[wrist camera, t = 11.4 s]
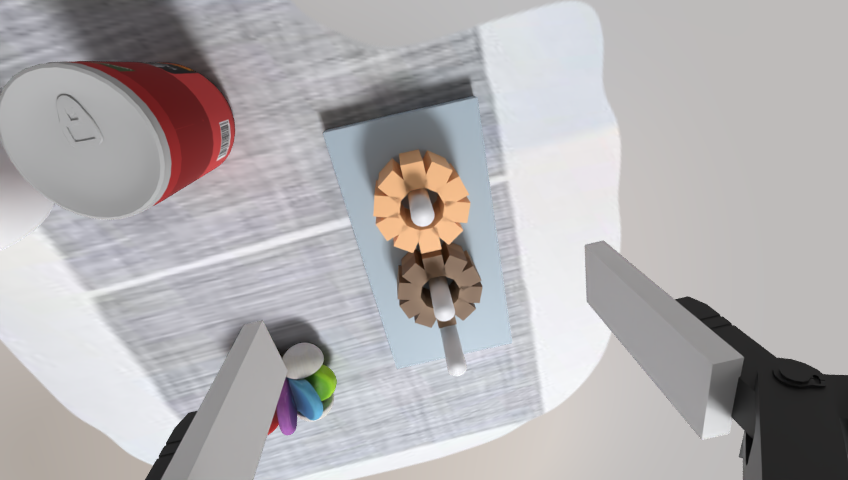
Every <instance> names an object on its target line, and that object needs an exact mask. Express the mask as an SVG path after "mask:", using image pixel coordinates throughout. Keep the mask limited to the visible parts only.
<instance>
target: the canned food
mask: <svg viewBox="0 0 848 480" xmlns="http://www.w3.org/2000/svg"><path fill="white" fill-rule="evenodd" d="M234 136H235V123H234V118H233V115H232V111H231V109H230V107H229V105H228V102H227V101H226V99H225V98H224V96H223V95H222V93H221V92H220V91H219V90H218V89H217V88H216V87H215V85H214V84H212V83H211V82H210V81H209V80H207V79H206V78H205V77H204V76H202V75H201V74H199V73H197V72H196V71H194V70H192V69H190V68H188V67H185V66H182V65H179V64H173V63H158V62H96V61H77V62H50V63H46V64H39V65H35V66H32V67H29V68H25V69H24V70H22V71H21V72H19V73H17V74H16V75H14V76H13V77H12V78H11V79H10V81H9V82H8V83H7V84H6V85H5V86H4V88H3V91H2V93H1V95H0V138H1V141H2V144H3V147H4V149H5V150H6V152H7V154H8V156H9V158H10V160H11V162H12V163H13V165H14V166H15V167H16V169H17V170H18V171H19V173H20V174H21V175H22V177H23V178H24V179H25V180H26V181H27V182H28V183H29V184H30V185H31V186H32V187H33V188H34V189H35V190H37V191H38V192H39V193H41V194H42V195H43V196H44V197H46V198H47V199H48V200H50V201H52V202H53V203H55V204H57V205H58V206H60V207H62V208H64V209H66V210H68V211H71V212H73V213H75V214H78V215H82V216H85V217H89V218H93V219H103V220H114V219H123V218H127V217H130V216H134V215H136V214H139V213H142V212H143V211H145V210H147V209H149V208H151V207H152V206H154V205H156V204H158V203H159V202H161V201H163V200H165V199H166V198H168V197H169V196H171V195H173V194H174V193H176V192H178V191H179V190H181V189H182V188H184V187H186V186H187V185H189V184H191V183H192V182H194V181H195V180H197V179H199V178H200V177H202V176H204V175H205V174H207V173H208V172H210V171H212V170H213V169H215V168H216V167H218V166H219V165H220V164H221V163H223V162H224V161H225V159H226V158H227V156H228V155H229V153H230V151H231V148H232V146H233V142H234Z"/></svg>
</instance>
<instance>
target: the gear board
mask: <svg viewBox="0 0 848 480" xmlns="http://www.w3.org/2000/svg"><path fill="white" fill-rule="evenodd" d="M323 135H324V139H325V142H326V145H327V148H328V151H329V154H330V158H331V161H332V164H333V167H334V170H335V173H336V177H337V180H338V183H339V186H340V189H341V193H342V196H343V199H344V202H345V205H346V208H347V212H348V215H349V218H350V221H351V224H352V227H353V231H354V234H355V237H356V240H357V243H358V247H359V250H360V253H361V256H362V259H363V262H364V266H365V269H366V272H367V275H368V278H369V281H370V285H371V288H372V291H373V294H374V297H375V301H376V304H377V307H378V310H379V313H380V316H381V320H382V323H383V326H384V329H385V332H386V335H387V339H388V342H389V345H390V348H391V351H392V354H393V358H394V361H395V364H396V367H397V369H398V368H403V367H407V366H412V365H416V364H421V363H425V362H430V361H434V360H439V359H443V358H446V363H447V368H448V372H449V374H451V375H453V376H460V375H463V374H464V373H465V372H466V370H467V365H466V362H465V358H464V354H466V353H470V352H474V351H479V350H483V349H488V348H492V347H497V346H501V345H506V344H510V343H512V338H511V331H510V324H509V317H508V310H507V303H506V295H505V288H504V281H503V274H502V267H501V260H500V253H499V246H498V239H497V232H496V225H495V218H494V211H493V204H492V196H491V189H490V182H489V175H488V168H487V161H486V154H485V147H484V140H483V133H482V126H481V119H480V112H479V105H478V97H475V96H471V97H467V98H462V99H458V100H454V101H449V102H445V103H441V104H436V105H432V106H428V107H423V108H419V109H415V110H410V111H406V112H402V113H397V114H393V115H389V116H384V117H380V118H376V119H371V120H367V121H363V122H358V123H354V124H350V125H345V126H341V127H337V128H332V129H328V130H325V131H324V132H323ZM417 149H419V151H420V154H421V157H422V160H423V157H424V155H425V153H426V151H427V150H428V151H430V152H433V153H435V154H437V155H440V156H442V157H444V158H445V159H446V160H447V162H448V164H450V163H451V164H452V166H453V167H454V169H455V170H456V172H457V174H458V175H459V177H460V179H461V180H462V182H463V184H464V186H465V188H466V190H467V191H468V193H469V195H468V196H467V198H468V199H469V201H470V210H469V216H468V222H467V223H460V224H461V226H462V228H463V231H462V232H461V233H460V234H459V235H458V236H457V237H456V238H455V239H454V240H453V241H452V243H455V244H457V245H460V246H461V247H462V249H463V252H464V251H466V250H467V252H468V254H469V255H470V257H471V259H472V261H473V262H474V264H475V266H476V269H477V271H478V273H479V276H480V278H481V280H482V281H480V282H481V284H482V286H483V288H482V293H481V299H480V303H474V304H475V307H476V310H474V311H473V312H472V313H471V314H470V315H469V316H468V317H467V318H466V319H465V320H464V321H463V320H461V319H460V318H459V317H457V316H456V315H455V309H454V305H453V302H452V298H451V294H450V290H449V287H448V285H450V284H451V283H452V282H453V279H451V278H448V277H445V276H439V277H435V278H430V279H429V280H428V281H427V282H426V283H425V284H424V285H423V287H424V288H426V289H429V290H430V293H431V298H432V304H433V309H434V314H435V317H436V318H437V319H438V320H440V321H448V320H450V319H452V318H453V317H454V315H455V318H456V323H457V324H456V325H451V326H447V327H443V328H439V327H438V323H437V319H436V321H435V323H434V325H433V326H432V328H430V327H427V326H424V325H420V324H417V323H415V320H414V317H412V318H410V319H409V318H408V317H407V315H406V314H405V313H404V311H403V310H402V309H401V307H400V306H399V299H398V296H397V274H398V266H402V265H401V259H402V258H403V257H404V256H405V255H406V254H407V253H408V251H406V250H403V249H400V248H397V247H395V246H394V241H393V238H392V239H390V240H388V241H387V240H386V239H385V237H384V236H383V235H382V233H381V232H380V230H379V229H378V227H377V226H376V217H374V216H373V211H374V194H375V185H376V180H378V179H379V172H380V171H381V170H382V169H383V168H384V167H385V165H386V164H387V163H388V162H389V161H390V160H391V158H393V159H394V160H395V161H396V162H397V163H398V164H400V159H399V154H400V153H404V152H409V151H413V150H417ZM437 194H438V193H437V192H434V191H432V190H430V189H427V188H425V187H424V188H420V189H415V190H411V191H410V192H409V193H408V194H407V195H406V196H405V197H404V198H403V199H402V200H401V203H402V204H403V206H404V207H405V208H407V209H409V210H410V213H411V219H412V221H413V223H414V224H416V225H417V226H421V227H424V226H428V225H429V224H431V223H432V221H433V220H434V211H433V207H432V205H433V204H434V203H435V202H436V201H437ZM439 239H440V244H441V246H442V244H443V242H444V241H443V240H442V239H441V238H440V237H439ZM415 249H416V250H418V251H419V252H420V253H421V250H420V246H419V242H418V244H417V246H416V248H415Z"/></svg>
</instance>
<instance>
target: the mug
mask: <svg viewBox="0 0 848 480" xmlns="http://www.w3.org/2000/svg"><path fill="white" fill-rule="evenodd" d="M54 204H55V203H53V202H52V201H50V200H48V199H47V198H46V197H44V196H43V195H42V194H41V193H39V192H38V191H37V190H35V189H34V188H33V187H32V186H31V185H30V184H29V183H28V182H27V181H26V180H25V179H24V178H23V177H22V175H21V174H20V173H19V171H18V170H17V169H16V167H15V166H14V165H13V163H12V162H11V160H10V158H9V156H8V154H7V152H6V150H5V149H4V147H3V144H2V141H1V138H0V251H1V250H3V249H5V248H7V247H9V246H11V245H13V244H15V243H17V242H18V241H20V240H22V239H23V238H25V237H26V236H27V235H29V234H30V233H31V232H33V231H34V230H35V229H36V228H37V227H39V226H40V224H41V223H42V222H43V221H44V220H45V219H46V218H47V217H48V215H49V214H50V212H51V210H52V208H53V206H54Z"/></svg>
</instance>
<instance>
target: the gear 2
mask: <svg viewBox="0 0 848 480" xmlns="http://www.w3.org/2000/svg"><path fill="white" fill-rule="evenodd" d="M441 248H442V249H440V250H435V251H431V252H426V253H422V254H421V253H420V252H419V251H418V250H416V249H415V250H414V252H413V253H411V252H408V253H407V254H406V255H405V256H404V257H403V258H402V259H401V265H402V266H398V274H397V296H398V299H399V306H400V307H401V309H402V310H403V311H404V313H405V314H406V315H407V317H408V318H409V319H410V318H412V317H414V320H415V323H417V324H420V325H424V326H427V327H430V328H432V326H433V325H434V323H435V321H436V319H437V318H436V317H435V314H434V309H433V304H432V298H431V293H430V290H429V289H426V288H424V287H423V285H424V284H425V283H426V282H427V281H428V280H429V279H430V278H435V277H439V276H445V277H448V278H451V279H453V282H452V283H451V284H450V285H448V287H449V290H450V294H451V298H452V302H453V305H454V309H455V315H456V316H457V317H459V318H460V319H461V320H463V321H464V320H465V319H466V318H467V317H468V316H469V315H470V314H471V313H472V312H473V311H474V310H476V307H475V304H474V303H480V299H481V293H482V288H483V286H482V284H481V282H480V281H482V280H481V278H480V276H479V273H478V271H477V269H476V266H475V264H474V262H473V261H472V259H471V257H470V255H469V254H468V252H467V250H466V251H464V252H463V249H462V247H461V246H460V245H457V244H455V243H452V242H451V243H450V244H449V245H448V244H447V243H446V242H445V241H444V242H443V244H442V246H441ZM455 315H454V317H453V318H452V319H450V320H448V321H440V320H438V319H437V323H438V327H439V328H443V327H447V326H451V325H456V324H457V323H456V318H455Z"/></svg>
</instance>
